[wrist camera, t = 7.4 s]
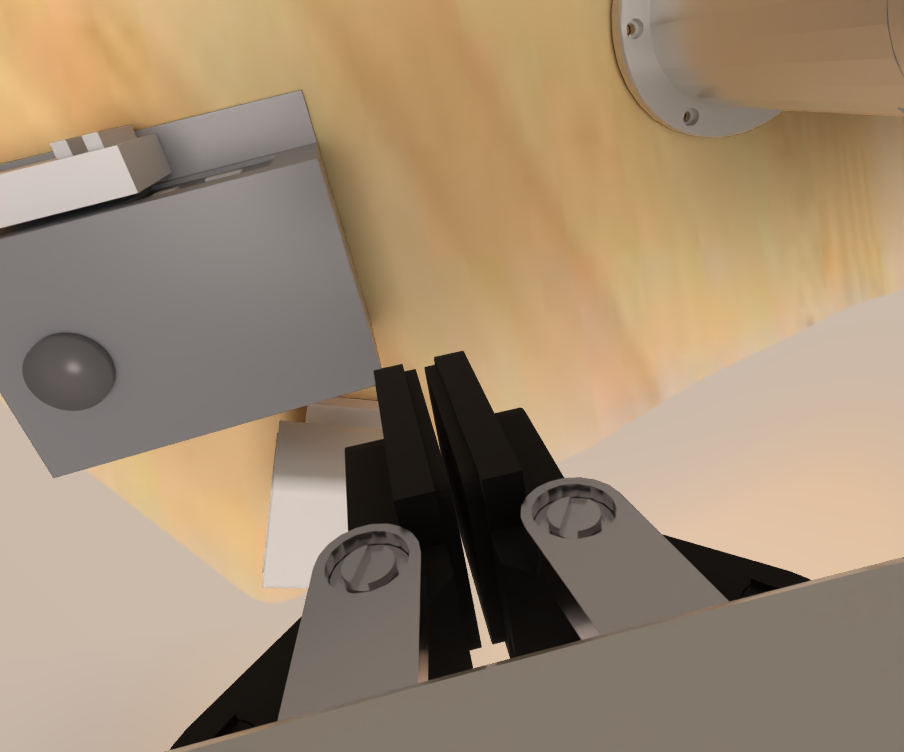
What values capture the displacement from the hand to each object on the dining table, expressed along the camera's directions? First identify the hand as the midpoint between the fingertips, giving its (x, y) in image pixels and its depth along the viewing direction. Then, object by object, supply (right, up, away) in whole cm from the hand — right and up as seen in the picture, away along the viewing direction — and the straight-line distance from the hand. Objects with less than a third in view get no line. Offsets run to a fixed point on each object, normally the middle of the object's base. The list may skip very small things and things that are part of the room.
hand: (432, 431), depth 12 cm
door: (-17, +11, +18) cm, 27 cm away
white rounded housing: (-7, -3, +27) cm, 28 cm away
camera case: (-13, +7, +21) cm, 26 cm away
